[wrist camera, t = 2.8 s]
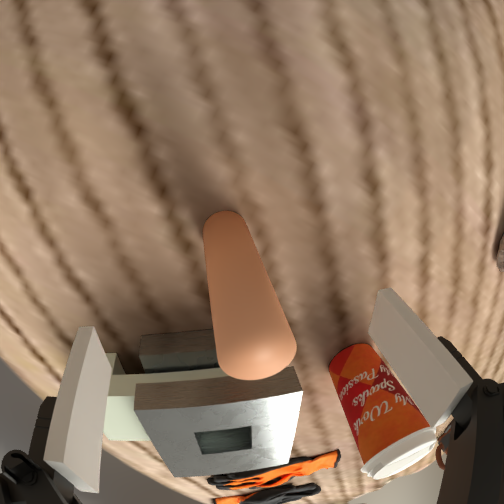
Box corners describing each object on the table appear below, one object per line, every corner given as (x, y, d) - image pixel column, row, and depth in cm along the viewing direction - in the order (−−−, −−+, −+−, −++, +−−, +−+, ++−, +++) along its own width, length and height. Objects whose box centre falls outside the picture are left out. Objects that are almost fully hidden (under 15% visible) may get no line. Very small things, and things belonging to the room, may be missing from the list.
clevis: (141, 335, 25) (133, 410, 18) (276, 321, 27) (302, 390, 20) (171, 418, 32) (174, 477, 25) (271, 407, 34) (288, 463, 27)
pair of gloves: (203, 466, 41) (206, 483, 38) (344, 442, 45) (350, 457, 42) (214, 504, 54) (216, 516, 51) (314, 488, 58) (317, 499, 55)
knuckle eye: (88, 353, 25) (77, 395, 21) (254, 340, 28) (266, 383, 23) (113, 401, 29) (109, 440, 25) (255, 390, 32) (264, 429, 27)
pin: (201, 212, 21) (214, 330, 11) (246, 209, 22) (299, 319, 11) (204, 253, 23) (221, 384, 12) (247, 249, 23) (293, 373, 13)
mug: (430, 439, 59) (449, 471, 49) (465, 418, 59) (484, 447, 49) (424, 450, 63) (440, 480, 53) (456, 430, 64) (473, 458, 54)
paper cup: (378, 324, 30) (448, 426, 18) (382, 364, 34) (435, 452, 22) (311, 356, 31) (363, 473, 18) (325, 391, 34) (367, 488, 22)
